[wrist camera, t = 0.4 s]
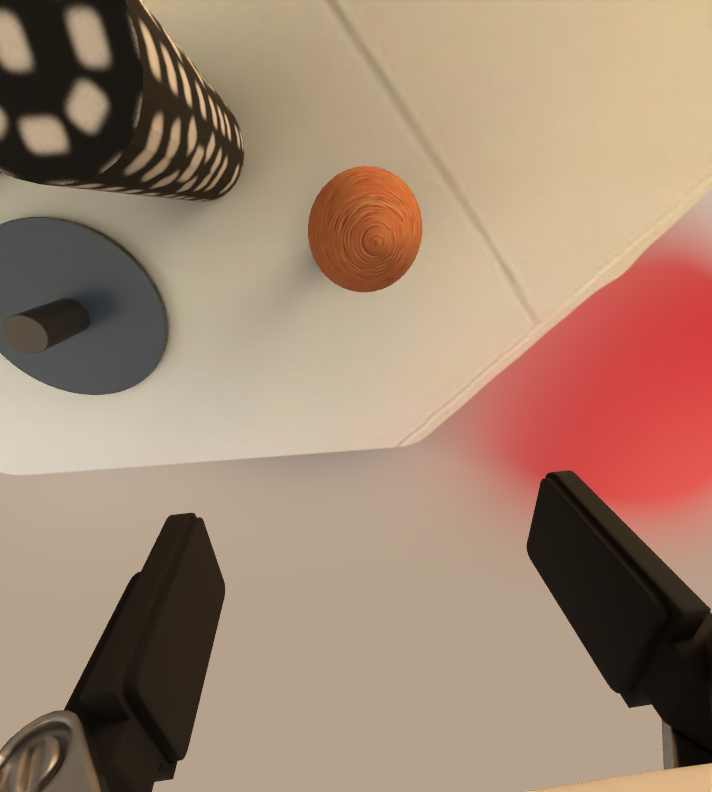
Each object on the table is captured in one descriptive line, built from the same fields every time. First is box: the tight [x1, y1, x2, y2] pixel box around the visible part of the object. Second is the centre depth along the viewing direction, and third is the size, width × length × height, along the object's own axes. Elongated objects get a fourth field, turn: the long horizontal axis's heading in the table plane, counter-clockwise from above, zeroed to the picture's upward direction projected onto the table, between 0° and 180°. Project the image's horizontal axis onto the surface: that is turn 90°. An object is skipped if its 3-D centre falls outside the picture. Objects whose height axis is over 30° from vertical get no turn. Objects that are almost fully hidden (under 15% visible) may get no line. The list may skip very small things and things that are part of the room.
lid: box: [0, 217, 167, 395], centre depth 32 cm, size 17×17×7 cm
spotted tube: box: [0, 0, 244, 201], centre depth 21 cm, size 8×8×20 cm
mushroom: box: [308, 166, 422, 292], centre depth 27 cm, size 8×8×15 cm
